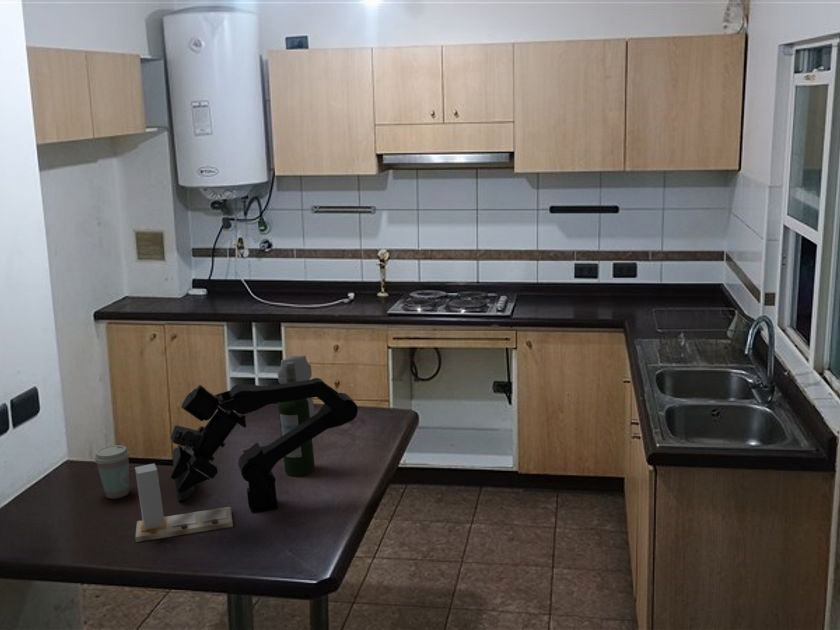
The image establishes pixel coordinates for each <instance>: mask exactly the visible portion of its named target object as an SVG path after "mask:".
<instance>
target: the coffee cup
mask: <svg viewBox="0 0 840 630" xmlns="http://www.w3.org/2000/svg"><path fill="white" fill-rule="evenodd" d="M129 457H130V452H129V450H128V448H127V447H126V446H125V445H120V444H119V445H118V444H117V445H116V444H115V445H108V446H105V447H102V448H99V449H98V450H97V451H96V453H95V456H94V462H95V463H96V466H97V471H98V474H99V476H100V481H101V483H102V488H103V491H104V493H105V495H104V496H105V497H106V498H107V499H121V498H123V497H127V495H128V494H129V493H130V472H129V471H130V467H129Z"/></svg>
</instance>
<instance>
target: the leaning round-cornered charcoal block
mask: <svg viewBox="0 0 840 630" xmlns="http://www.w3.org/2000/svg"><path fill="white" fill-rule="evenodd" d="M178 458H179V449H178V446H177V447H174V448H173V450H172V459H173V460H172V463H173V465H172V466H173V469H174V468H175V465H176V463H177V460H178ZM187 472H188V470H187V471H186V472H184V473H183V474H182V475H180V476H179V477H178V478H176V479H175V480H174V482H175V491H176V497H177V500H178V501H182V502H183V501H186V500H187V499H189V498H190V497H191V495H193V493H194V491H195V489H196V487H195V486H196V485H195V486H193V487H192V488H190V489H188V490H186V491H184V492H183V493H179V492H178V491H177V490H178V488H179V486H180V484H181V483H182V481H183V479H184V477H185V476H186V474H187Z"/></svg>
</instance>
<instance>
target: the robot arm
mask: <svg viewBox="0 0 840 630" xmlns="http://www.w3.org/2000/svg"><path fill="white" fill-rule="evenodd" d="M307 398H312V399H314V398H317V399H318V400H320V401H321V402H322V403H323V404H322V406H321V407H320V409H319V410H318V412H316V414H314V416H312V417H311V418H309V419H308V420H306V421H305V422H303V423H302V424H300V425H299V426H297V427H296V428H294V429H292V430H291V431H289V432H288V433H286V434H285V435H283V436H282V437H281V436H280V437H279V438H277V439H276V440H273V442H271V443H269V444H267V445H262V446H260V444H259V442H256V443H254V444H253V445H252V446H251V447H249V448H247V449H244V450H242V452H243V453H242V454H241V455H240V456H239V458H238V461H237V467H238V470H239V472H240V474H241V477H242V478H243V480H245V481H246V482H247V483H248V488H246V497H247V505H248V508H249V509H250V510H251V511H250V512H251V513H258V512H264V511H271V510H277V509H279V504H278V500H277V489H276V488H277V487H276V477H275V475H274V473H273V471H272V470H273V468H274V467H275V466H276V465H277V464H278V462H279V461H281V460H283V459H284V457H285V456H287V455H288V454H290V453H291V452H293V451H294V450H296V449H297V448H299V447H300V446H302V445H304V444H305V443H307V442H308V441H310V440H311V439H312V440H313V439H315V438H316V437H318V436H319V435H320V434H322V433H323V432H325V431H326V430H329V429H333V428H337V427H341V426H343V425H346V424H348V423H350V422H352V421H354V420H355V419H356V417H357V416H358V411H359V407H358V405H357V404H356V402H355V401H354V400H353V398H351V396H350V395H349V394H347V393H346V392H345V393H344V392H338V391H337V390H336V389H334V388H332V387H331V386H330V385H328V384H327V383H325V382H324V381H323V379H322V378H320V377H314V378H312V379H311V378H310V380H305V381H298V382H291V383H284V384H280V383H279V384H273V385H272V384H271V385H258V384H249V383H247V384H244V383H241V384H239V383H238V384H235V385H234V386H232V387H231V389H230V390H227V391H224V392H220V393H218V394H215V395H214V394H213V393H211V392H210V391H209V390H207V389H206V387H204V386H203V385H202V384H199V385H198V386H197V387H196V388H194V389H193V390H192V391H191V392H189V393H188V394H187V395H186V396H185V399H184V400H183V401H182V404H181V409H182V410H183V411H185V412H187V413H189V414H190V415H191V416H193V417H195V419H197V420H198V421H200V422H203V421H205V422H206V421H208V422H207V423H206V424H205V426H203V425H201V426H199V428H197V429H193V428H189V427H185V426H180V425H174V427H173V429H172V430H173V431H172V433H171V436H170V439H171V440H172V443H173V444H176V445H177V447H178V449H179V458H178V460H177V463H176V465H175V468H174V467H173V470H172V473H171V475H170V478H171V479H172V480H174V481H175V479H176V478H178V477H179V476H180V475H182V474H183V473H184V472H186V471H187V470H188V472H187V474H186V476H185V477H184V479H183V481H182V483H181V484H180V486H179V488H178V490H177V491H178V492H179V493H183V492H184V491H186V490H188V489H190V488H192V487H193V486H197V485H199V484H201V483H203V482H206V481H210V479H211V480H214V478H215V477H216V476H217V474H218V467H217V465H216V463H215V462H214V461H215V457H214V455H215V454H216V452H217V451H218V450H219V449H220V447H221V448H224V446H225V445H226V443H225V441H226V440H227V438H228V437H229V435H230V434H231V433H232V432H233V431H234V429H235V428H236V426H237V425H240V426H241V427H243V428H245V429H246V427H247V422H246V417H247V416H246V415H247V414H250V413H253V412H255V411H258V410H261V409H262V408H265V407H266V406H268V405H274V404H279V403H281V402H287V401H294V400H300V399H307Z"/></svg>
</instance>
